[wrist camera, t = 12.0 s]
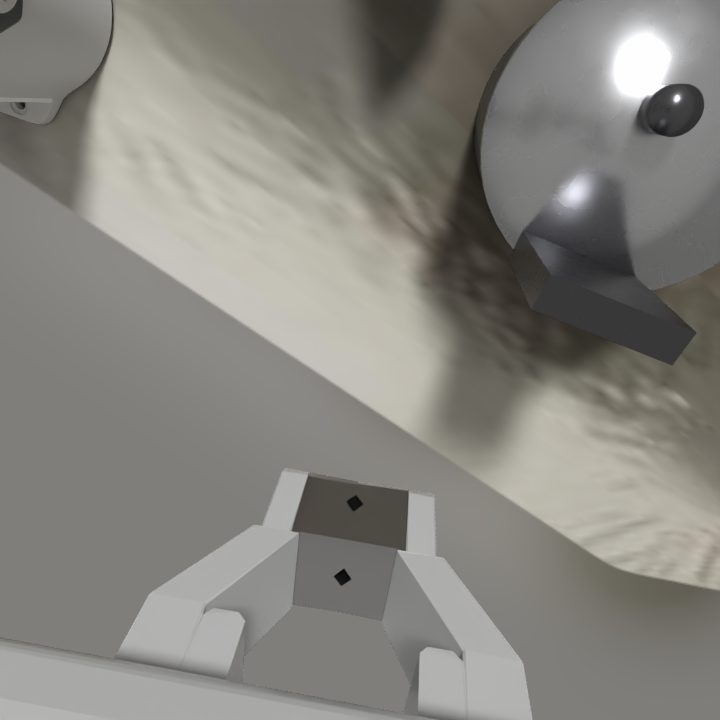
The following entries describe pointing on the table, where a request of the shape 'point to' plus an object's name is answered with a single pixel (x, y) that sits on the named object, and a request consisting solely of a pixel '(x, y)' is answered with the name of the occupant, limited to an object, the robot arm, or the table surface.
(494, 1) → the table surface
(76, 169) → the table surface
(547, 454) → the table surface
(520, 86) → the lid
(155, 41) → the table surface
